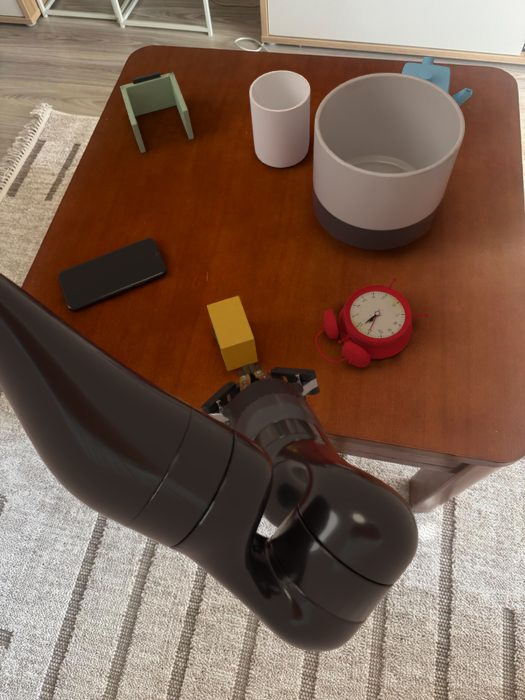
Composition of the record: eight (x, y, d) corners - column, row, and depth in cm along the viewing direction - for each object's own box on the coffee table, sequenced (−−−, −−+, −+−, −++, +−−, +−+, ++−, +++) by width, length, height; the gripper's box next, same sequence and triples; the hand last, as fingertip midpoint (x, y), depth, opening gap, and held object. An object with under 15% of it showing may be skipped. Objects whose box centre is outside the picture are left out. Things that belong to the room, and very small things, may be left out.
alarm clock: (439, 319, 71) (353, 363, 65) (421, 344, 76) (340, 387, 70) (390, 266, 75) (306, 303, 69) (377, 294, 80) (297, 330, 74)
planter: (311, 262, 81) (314, 177, 65) (311, 169, 89) (314, 73, 73) (440, 262, 79) (475, 175, 63) (427, 167, 88) (456, 69, 72)
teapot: (386, 88, 97) (395, 34, 88) (464, 97, 95) (482, 43, 86) (369, 158, 90) (377, 107, 81) (453, 170, 87) (471, 119, 78)
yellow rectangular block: (258, 361, 74) (254, 338, 67) (226, 372, 73) (219, 349, 67) (242, 318, 77) (237, 292, 71) (212, 328, 77) (204, 303, 70)
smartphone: (70, 314, 79) (169, 275, 81) (68, 311, 78) (168, 271, 80) (58, 275, 82) (153, 238, 84) (55, 272, 82) (152, 234, 84)
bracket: (194, 138, 94) (186, 105, 88) (141, 153, 93) (130, 121, 87) (180, 101, 99) (172, 67, 93) (129, 114, 98) (118, 82, 92)
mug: (247, 164, 91) (241, 106, 80) (267, 117, 96) (264, 56, 85) (301, 174, 89) (301, 116, 78) (318, 125, 94) (320, 64, 83)
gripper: (338, 373, 46) (293, 326, 62) (192, 420, 45) (185, 360, 61) (356, 446, 48) (308, 382, 64) (218, 493, 47) (205, 416, 63)
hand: (248, 371), depth 63 cm, fingers closed
